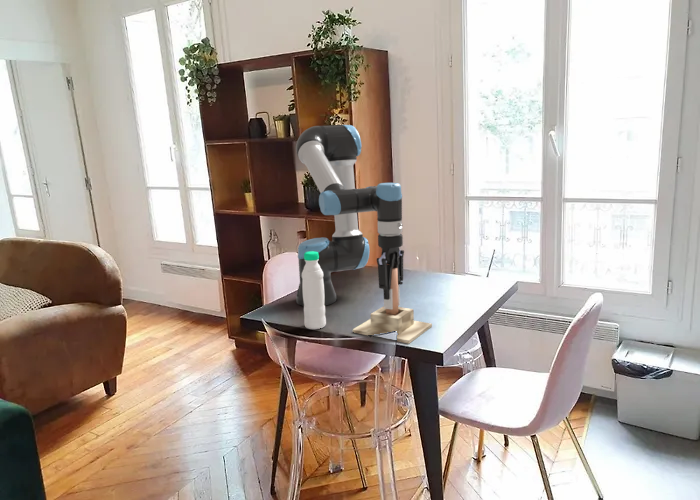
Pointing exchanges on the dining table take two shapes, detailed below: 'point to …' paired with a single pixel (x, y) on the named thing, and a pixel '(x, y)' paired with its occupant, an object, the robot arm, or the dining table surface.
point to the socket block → (394, 325)
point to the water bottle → (313, 292)
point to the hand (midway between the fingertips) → (392, 306)
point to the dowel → (394, 293)
